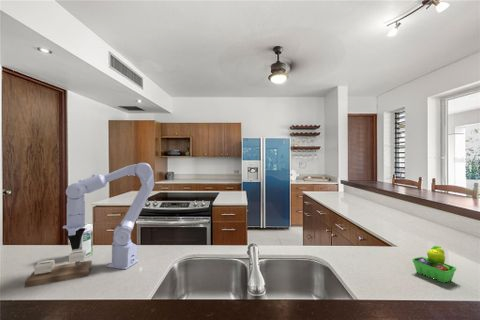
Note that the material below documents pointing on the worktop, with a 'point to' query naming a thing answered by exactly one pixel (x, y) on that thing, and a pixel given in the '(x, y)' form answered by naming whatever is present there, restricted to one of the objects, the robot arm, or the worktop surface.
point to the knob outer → (44, 267)
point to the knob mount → (60, 273)
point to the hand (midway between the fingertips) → (75, 248)
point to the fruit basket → (434, 265)
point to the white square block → (77, 256)
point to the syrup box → (87, 240)
